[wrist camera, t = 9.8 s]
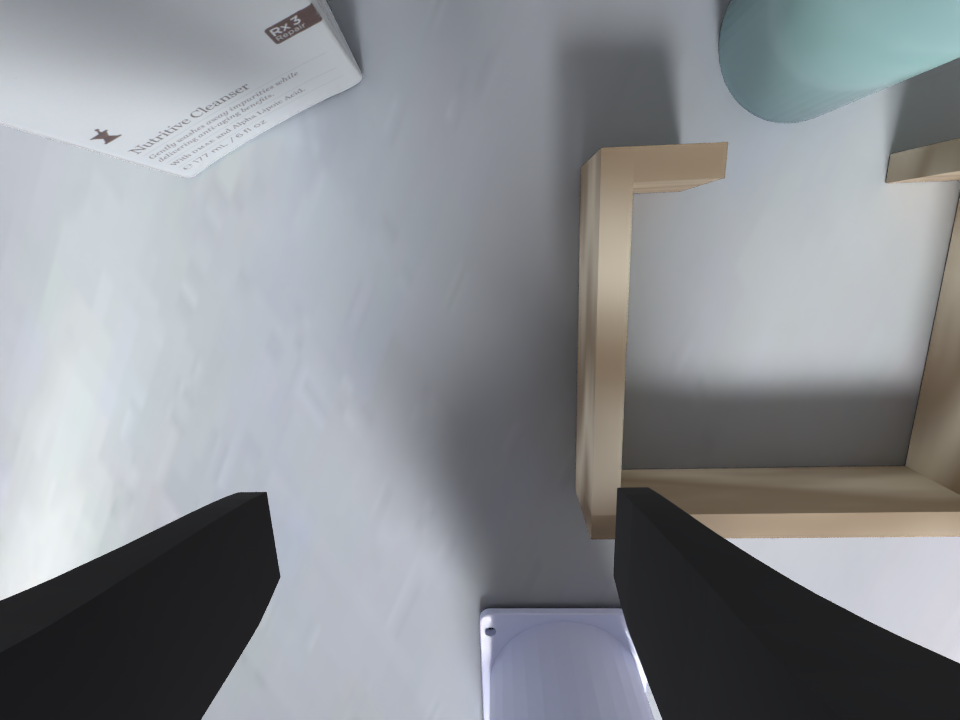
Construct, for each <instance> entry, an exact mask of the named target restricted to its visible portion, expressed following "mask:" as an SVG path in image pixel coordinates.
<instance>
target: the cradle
mask: <svg viewBox="0 0 960 720" xmlns="http://www.w3.org/2000/svg"><path fill="white" fill-rule="evenodd" d="M727 149H728V142H718V143H696V144H674V145H651V146H629V147H606V148H601V149H600V150H599V151H598V152H596V153H595V154H594V155H593V156H592V157H591V158H590V159H589V160H588V161H587V162H586V163H585V164H584V165H583V166H582V167H581V191H580V251H579V312H578V372H577V433H576V494H577V497H578V500H579V503H580V506H581V509H582V512H583V516H584V519H585V522H586V525H587V528H588V531H589V534H590V537H591V539H615V528H616V504H617V488H628V487H648V488H650V489H652V490H654V491H655V492H657V493H658V494H660V495H662V496H663V497H665V498H666V499H667V500H669V501H670V502H672V503H673V504H675V505H676V506H678V507H679V508H681V509H682V510H683V511H685V512H686V513H688V514H689V515H691V516H692V517H693V518H695V519H696V520H698V521H699V522H701V523H702V524H704V525H705V526H707V527H708V528H710V529H711V530H712V531H714V532H715V533H717V534H718V535H720V536H721V537H723V538H828V537H956V536H960V198H959V203H958V208H957V213H956V218H955V222H954V227H953V232H952V237H951V242H950V247H949V252H948V257H947V262H946V267H945V272H944V277H943V282H942V287H941V292H940V297H939V302H938V306H937V311H936V316H935V321H934V326H933V331H932V336H931V341H930V346H929V351H928V356H927V361H926V366H925V371H924V376H923V381H922V385H921V390H920V395H919V400H918V405H917V410H916V415H915V420H914V425H913V430H912V435H911V440H910V445H909V450H908V455H907V460H906V464H905V466H852V467H783V468H713V469H643V470H621V464H622V441H623V417H624V393H625V370H626V346H627V322H628V299H629V275H630V251H631V228H632V204H633V193H655V192H680V191H683V190H687V189H690V188H693V187H696V186H700V185H703V184H706V183H709V182H713V181H716V180H719V179H722V178H725V172H726V160H727ZM953 180H960V138H956V139H952V140H948V141H944V142H940V143H935V144H931V145H927V146H923V147H919V148H914V149H910V150H906V151H902V152H898V153H894V154H890V161H889V167H888V173H887V179H886V183H903V182H928V181H953Z"/></svg>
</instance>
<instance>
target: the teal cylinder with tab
mask: <svg viewBox="0 0 960 720" xmlns="http://www.w3.org/2000/svg"><path fill="white" fill-rule="evenodd" d="M957 58H960V0H731V1H730V3H729V6H728V8H727V10H726V13H725V15H724V19H723V22H722V26H721V31H720V37H719V61H720V67H721V72H722V75H723V78H724V81H725V83H726V85H727V87H728V89H729V91H730V92H731V94H732V95H733V97H734V98H735V100H736V101H737V102H738V103H739V104H740V105H741V106H742V107H743V108H745V109H746V110H747V111H748V112H750V113H752V114H753V115H755V116H757V117H759V118H762V119H764V120H767V121H771V122H776V123H796V122H801V121H806V120H809V119H812V118H815V117H818V116H820V115H823V114H825V113H827V112H830V111H832V110H835V109H837V108H839V107H842V106H844V105H847V104H849V103H851V102H854V101H856V100H859V99H861V98H863V97H866V96H868V95H871V94H873V93H875V92H878V91H880V90H883V89H885V88H887V87H890V86H892V85H895V84H897V83H899V82H902V81H904V80H907V79H909V78H911V77H914V76H916V75H919V74H921V73H923V72H926V71H928V70H931V69H933V68H936V67H938V66H940V65H943V64H945V63H948V62H950V61H952V60H955V59H957Z"/></svg>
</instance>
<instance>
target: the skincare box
mask: <svg viewBox="0 0 960 720" xmlns="http://www.w3.org/2000/svg"><path fill="white" fill-rule="evenodd" d="M362 78H363V76H362V73H361V71H360V69H359V67H358V65H357V63H356V61H355V59H354V56H353V54H352V52H351V50H350V48H349V46H348V44H347V42H346V40H345V38H344V36H343V34H342V32H341V30H340V28H339V26H338V24H337V22H336V20H335V18H334V16H333V14H332V12H331V10H330V8H329V6H328V4H327V2H326V0H0V125H4V126H7V127H10V128H14V129H17V130H21V131H24V132H28V133H31V134H34V135H38V136H41V137H45V138H48V139H52V140H55V141H59V142H62V143H66V144H69V145H73V146H76V147H79V148H83V149H86V150H89V151H93V152H96V153H99V154H103V155H106V156H110V157H113V158H116V159H120V160H123V161H126V162H130V163H133V164H136V165H140V166H143V167H147V168H150V169H154V170H157V171H161V172H164V173H168V174H171V175H175V176H178V177H182V178H185V177H189V178H193V177H194V176H196V175H197V174H199V173H200V172H201V171H203V170H204V169H206V168H207V167H208V166H209V165H211V164H212V163H213V162H215V161H217V160H218V159H220V158H221V157H223V156H225V155H226V154H228V153H230V152H231V151H233V150H235V149H236V148H238V147H240V146H241V145H243V144H245V143H246V142H248V141H250V140H251V139H253V138H255V137H256V136H258V135H260V134H262V133H263V132H265V131H267V130H269V129H270V128H272V127H274V126H276V125H278V124H279V123H281V122H283V121H285V120H287V119H288V118H290V117H292V116H294V115H296V114H298V113H300V112H302V111H304V110H305V109H307V108H309V107H311V106H313V105H315V104H317V103H319V102H321V101H323V100H325V99H327V98H329V97H331V96H333V95H336V94H338V93H341V92H343V91H345V90H347V89H349V88H351V87H353V86H355V85H356V84H358V83H359V82H360V81H361V80H362Z"/></svg>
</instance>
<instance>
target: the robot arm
mask: <svg viewBox="0 0 960 720" xmlns="http://www.w3.org/2000/svg"><path fill="white" fill-rule="evenodd" d="M279 579H280V572H279V566H278V560H277V554H276V547H275V541H274V535H273V529H272V523H271V516H270V510H269V504H268V498H267V492H240V493H235V494H233V495H230V496H227V497H225V498H222V499H220V500H217V501H215V502H213V503H211V504H209V505H206V506H204V507H202V508H200V509H198V510H196V511H194V512H192V513H189V514H187V515H185V516H183V517H181V518H179V519H177V520H175V521H173V522H171V523H169V524H167V525H165V526H163V527H161V528H159V529H157V530H155V531H153V532H151V533H149V534H147V535H145V536H143V537H141V538H139V539H137V540H134V541H132V542H130V543H128V544H126V545H124V546H122V547H120V548H118V549H116V550H114V551H111V552H109V553H107V554H105V555H103V556H101V557H98V558H96V559H94V560H92V561H90V562H88V563H86V564H83V565H81V566H79V567H77V568H75V569H73V570H70V571H68V572H66V573H64V574H62V575H60V576H57V577H55V578H53V579H51V580H48V581H46V582H44V583H42V584H39V585H37V586H35V587H32V588H30V589H28V590H25V591H23V592H20V593H18V594H16V595H13V596H11V597H9V598H6V599H4V600H1V601H0V720H201V719H202V717H203V715H204V714H205V712H206V711H207V709H208V707H209V706H210V704H211V702H212V701H213V699H214V698H215V696H216V694H217V693H218V691H219V690H220V688H221V686H222V685H223V683H224V681H225V680H226V678H227V677H228V675H229V673H230V672H231V670H232V669H233V667H234V665H235V664H236V662H237V660H238V659H239V657H240V655H241V654H242V652H243V650H244V649H245V647H246V645H247V644H248V642H249V641H250V639H251V637H252V636H253V634H254V632H255V630H256V629H257V627H258V625H259V623H260V621H261V619H262V617H263V615H264V613H265V611H266V608H267V606H268V604H269V602H270V600H271V597H272V595H273V593H274V590H275V588H276V586H277V584H278V581H279ZM614 579H615V583H616V587H617V591H618V595H619V599H620V603H621V607H622V608H489V609H485V610H484V611H482V612H481V614H480V645H481V669H482V693H483V717H484V720H655V719H654V716H653V713H652V710H651V707H650V704H649V701H648V698H647V681H648V683H649V686H650V689H651V691H652V694H653V696H654V699H655V701H656V704H657V707H658V709H659V712H660V714H661V717H662V720H960V663H957V662H955V661H953V660H951V659H949V658H946V657H944V656H942V655H940V654H937V653H935V652H933V651H931V650H929V649H926V648H924V647H922V646H920V645H918V644H915V643H913V642H911V641H909V640H906V639H904V638H902V637H900V636H898V635H896V634H894V633H892V632H890V631H888V630H885V629H883V628H881V627H879V626H877V625H875V624H873V623H871V622H869V621H867V620H865V619H863V618H861V617H859V616H857V615H855V614H854V613H852V612H850V611H848V610H846V609H844V608H842V607H840V606H838V605H836V604H834V603H832V602H831V601H829V600H827V599H825V598H823V597H821V596H819V595H817V594H815V593H814V592H812V591H810V590H808V589H806V588H805V587H803V586H801V585H799V584H797V583H796V582H794V581H792V580H790V579H789V578H787V577H785V576H784V575H782V574H780V573H779V572H777V571H775V570H774V569H772V568H770V567H769V566H767V565H766V564H764V563H762V562H761V561H759V560H757V559H756V558H754V557H752V556H751V555H749V554H748V553H746V552H744V551H743V550H741V549H740V548H738V547H737V546H735V545H734V544H732V543H731V542H729V541H727V540H726V539H724V538H723V537H721V536H720V535H718V534H717V533H715V532H714V531H712V530H711V529H710V528H708V527H707V526H705V525H704V524H702V523H701V522H699V521H698V520H696V519H695V518H693V517H692V516H691V515H689V514H688V513H686V512H685V511H683V510H682V509H681V508H679V507H678V506H676V505H675V504H673V503H672V502H670V501H669V500H667V499H666V498H665V497H663V496H662V495H660V494H658V493H657V492H655V491H654V490H652V489H650V488H648V487H628V488H617V504H616V528H615V553H614ZM488 627H492V628H494V629H492V630H490V629H487V628H488Z"/></svg>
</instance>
